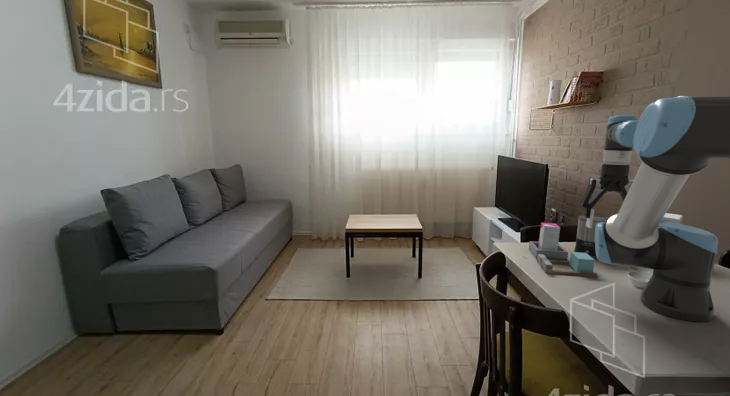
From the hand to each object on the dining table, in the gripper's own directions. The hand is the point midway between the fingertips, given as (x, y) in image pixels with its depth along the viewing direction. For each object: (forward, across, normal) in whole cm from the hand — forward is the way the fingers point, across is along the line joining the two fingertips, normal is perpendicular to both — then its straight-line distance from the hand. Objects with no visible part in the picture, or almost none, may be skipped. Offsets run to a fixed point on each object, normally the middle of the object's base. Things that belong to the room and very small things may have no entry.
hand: (606, 228), depth 118 cm
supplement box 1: (+15, -13, +14) cm, 25 cm away
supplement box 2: (+16, +30, +22) cm, 40 cm away
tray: (+16, -13, +14) cm, 25 cm away
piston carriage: (+16, -6, 0) cm, 17 cm away
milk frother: (+16, +6, +22) cm, 28 cm away
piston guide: (+16, -11, 0) cm, 19 cm away
